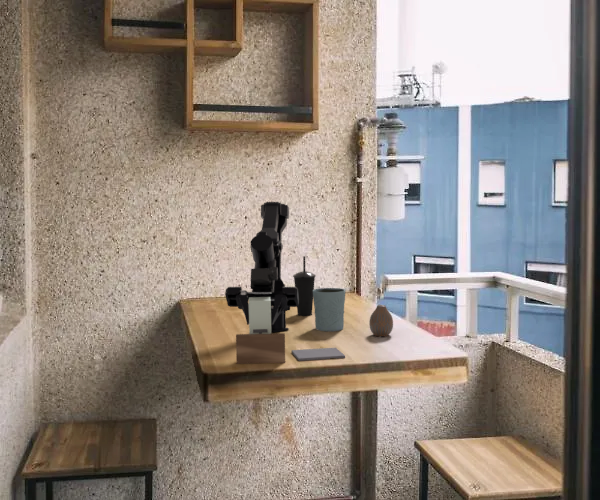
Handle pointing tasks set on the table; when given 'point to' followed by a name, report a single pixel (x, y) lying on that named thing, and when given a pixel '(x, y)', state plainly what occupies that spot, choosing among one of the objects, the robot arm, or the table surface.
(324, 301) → the blue-grey pot
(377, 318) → the vase
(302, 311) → the drinking cup
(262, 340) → the walnut screen
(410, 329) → the table surface
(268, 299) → the pale green block
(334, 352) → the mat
